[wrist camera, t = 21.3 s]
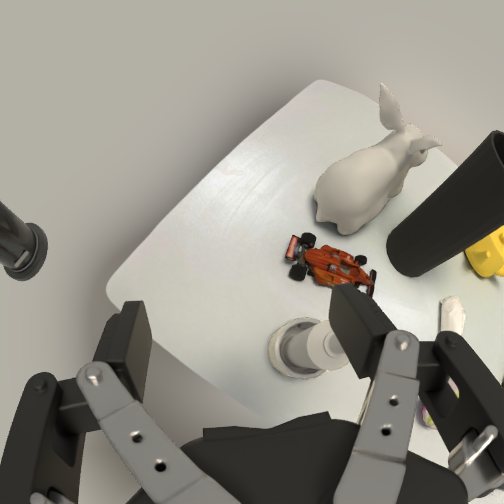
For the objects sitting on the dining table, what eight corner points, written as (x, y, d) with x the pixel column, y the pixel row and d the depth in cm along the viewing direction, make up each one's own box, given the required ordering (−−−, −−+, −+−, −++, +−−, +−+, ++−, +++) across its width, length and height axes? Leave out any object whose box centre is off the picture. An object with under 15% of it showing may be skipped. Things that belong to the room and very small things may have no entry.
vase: (436, 258, 52) (545, 183, 24) (409, 288, 49) (534, 215, 21) (406, 218, 54) (500, 122, 26) (376, 243, 51) (481, 141, 23)
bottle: (316, 342, 44) (406, 316, 21) (303, 373, 42) (386, 380, 19) (286, 329, 44) (351, 291, 21) (272, 360, 42) (326, 357, 19)
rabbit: (404, 203, 55) (475, 126, 32) (333, 251, 50) (406, 164, 27) (370, 161, 58) (423, 75, 35) (295, 199, 53) (336, 92, 30)
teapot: (457, 271, 51) (488, 255, 42) (457, 218, 56) (484, 197, 47) (495, 289, 50) (525, 276, 41) (494, 238, 55) (520, 222, 46)
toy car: (368, 306, 47) (380, 301, 43) (277, 274, 48) (282, 265, 44) (377, 265, 50) (389, 257, 46) (291, 232, 51) (297, 221, 47)
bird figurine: (451, 347, 47) (458, 297, 48) (468, 352, 40) (476, 296, 41) (431, 346, 47) (438, 295, 49) (446, 352, 41) (455, 294, 42)
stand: (271, 380, 42) (279, 383, 35) (265, 327, 45) (271, 321, 38) (323, 371, 43) (339, 372, 36) (316, 320, 46) (330, 313, 39)
